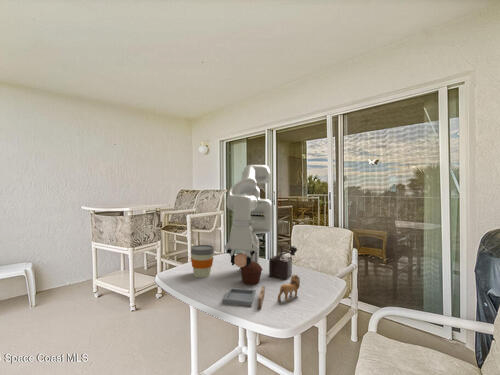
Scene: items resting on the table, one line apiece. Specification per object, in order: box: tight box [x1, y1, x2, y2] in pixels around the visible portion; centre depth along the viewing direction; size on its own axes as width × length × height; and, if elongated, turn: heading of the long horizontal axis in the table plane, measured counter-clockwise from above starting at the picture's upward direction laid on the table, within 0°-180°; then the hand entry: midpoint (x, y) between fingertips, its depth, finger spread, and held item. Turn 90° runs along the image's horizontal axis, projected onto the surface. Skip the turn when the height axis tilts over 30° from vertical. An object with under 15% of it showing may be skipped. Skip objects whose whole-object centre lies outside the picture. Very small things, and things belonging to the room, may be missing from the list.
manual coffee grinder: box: [268, 245, 298, 280], centre depth 133 cm, size 16×11×18 cm
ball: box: [234, 252, 247, 268], centre depth 105 cm, size 6×6×6 cm
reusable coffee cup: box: [190, 244, 215, 279], centre depth 133 cm, size 13×13×15 cm
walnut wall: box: [257, 285, 266, 310], centre depth 102 cm, size 13×1×4 cm, turn 171°
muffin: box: [239, 261, 263, 286], centre depth 124 cm, size 12×11×10 cm
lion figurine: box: [277, 274, 301, 304], centre depth 106 cm, size 15×5×9 cm, turn 140°
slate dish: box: [222, 287, 257, 307], centre depth 105 cm, size 12×12×2 cm
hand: (240, 264), depth 105 cm, fingers closed on ball, 5 cm apart
